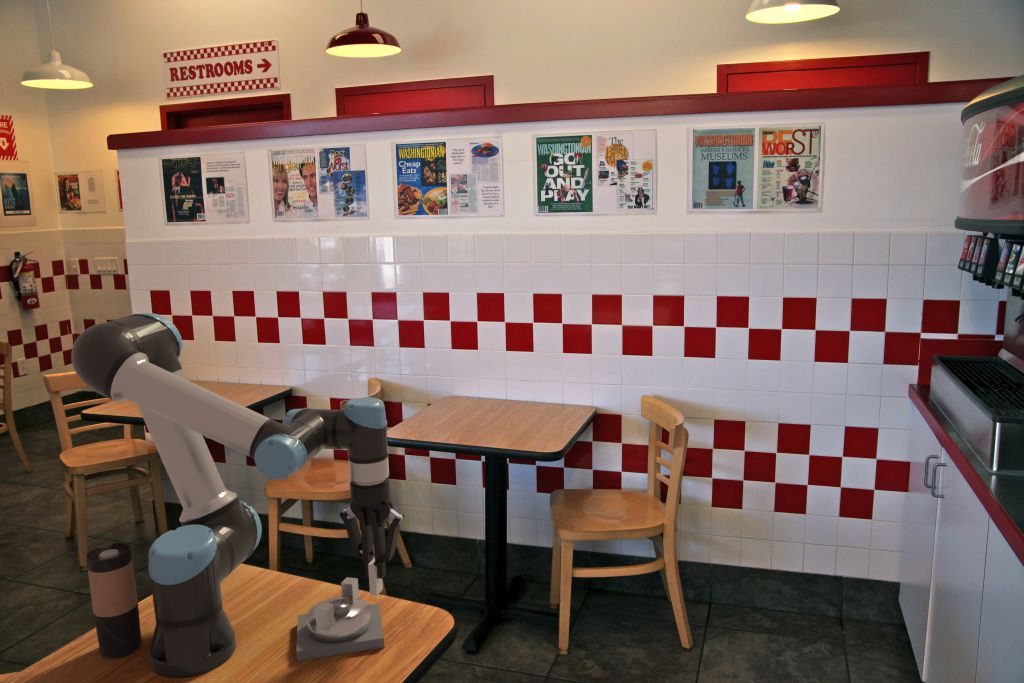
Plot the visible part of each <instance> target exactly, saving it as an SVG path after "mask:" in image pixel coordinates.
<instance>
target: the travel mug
mask: <svg viewBox="0 0 1024 683" xmlns="http://www.w3.org/2000/svg"><path fill="white" fill-rule="evenodd" d="M85 557H86V565H87V573H88V574H87V575H88V582H89V590H90V598H91V606H92V612H93V620H94V625H95V630H96V634H97V635H96V636H97V640H98V641H97V642H98V647H99V648H98V649H99V651H100V655H101V656H102V657H103V658H104V659H105V658H106V659H119V658H122V657H126V656H129V655H130V654H133V653H135V652H136V651H137V650H139V649H140V647H141V646H142V634H141V633H142V632H141V622H140V621H141V620H140V611H139V599H138V598H139V597H138V593H137V592H138V591H137V585H136V577H135V570H134V565H133V564H134V563H133V556H132V549H131V545H130V544H128V543H127V542H113V543H112V544H111V545H108V546H105V547H101V546H96V547H94V548H92V549H90V550H89V551H88V552H87V554H86V556H85ZM135 650H136V651H135Z"/></svg>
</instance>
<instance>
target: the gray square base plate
mask: <svg viewBox="0 0 1024 683" xmlns="http://www.w3.org/2000/svg"><path fill="white" fill-rule="evenodd" d="M369 606H370V617H371V623H370V626H369V628H368V629H367V630H366V631H365V632H364V633H362V634H361V635H359V636H357V637H355V638H353V639H350V640H346V641H342V642H322V641H318V640H316V639H314V638H312V637H311V636H310V635H309V633H308V627H307V613H305V614H304V613H303V614H297V623H296V624H297V625H296V626H297V627H296V629H297V630H296V648H295V649H296V662H301V661H306V660H308V661H309V660H315V659H320V658H321V659H322V658H326V657H332V656H339V655H344V654H345V655H346V654H351V653H359V652H364V651H369V650H370V651H371V650H376V649H382V648H385V636H384V631H383V625H382V624H383V623H382V617H381V611H380V605H379V603H373V604H369Z"/></svg>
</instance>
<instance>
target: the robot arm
mask: <svg viewBox="0 0 1024 683" xmlns="http://www.w3.org/2000/svg"><path fill="white" fill-rule="evenodd" d="M182 349H183V339H182V336H181V334H180V331H179V330H178V328H177V327H176V325H175V324H174V323H173V322H171V320H169V319H168V318H166V317H165V316H163V315H160V314H157V313H154V312H144V313H134V314H129V315H127V316H123V317H120V318H117V319H113V320H110V321H106V322H101V323H97V324H94V325H91V326H90V327H88V328H86V329H85V330H83V331H82V332H81V333H80V334H78V336H77V338H76V339H75V341H74V344H73V345H72V350H71V356H70V357H71V364H72V367H73V370H74V372H75V374H76V376H77V377H78V378H79V380H81V381H82V382H83V383H84V384H85V385H86V386H87V387H88V388H89V389H91V390H92V391H94V392H96V393H97V394H99V395H102V396H103V397H105V398H107V399H110V400H112V401H114V402H116V403H123V402H126V401H128V402H130V403H132V404H135V405H137V408H138V409H139V412H140V414H141V416H142V418H143V421H144V423H145V425H146V428H147V430H148V432H149V434H150V436H151V439H152V441H153V443H154V445H155V447H156V450H157V453H158V454H159V456H160V460H161V462H162V464H163V466H164V468H165V470H166V472H167V474H168V477H169V479H170V482H171V483H172V486H173V488H174V490H175V492H176V495H177V497H178V500H179V501H180V504H181V507H182V512H181V514H180V516H179V523H180V524H181V525H180V526H178V527H177V528H176V529H175V530H173V529H170V530H168V531H166V532H165V533H163V534H161V535H160V536H159V537H158V538H156V539H155V541H154V542H153V543H152V544H151V546H150V548H149V551H148V566H147V569H148V570H147V571H148V575H149V579H150V585H151V592H152V593H151V594H152V601H153V609H154V616H155V627H154V631H153V635H152V639H151V642H150V646H149V651H148V654H149V662H150V663H149V664H150V668H151V670H152V671H154V672H155V673H156V674H158V675H160V676H163V677H169V678H170V677H171V678H185V677H189V676H190V677H191V676H195V675H199V674H202V673H204V672H205V673H206V672H207V671H210V670H213V669H215V668H216V667H219V666H220V665H222V664H223V663H224V662H226V661H227V660H228V659H230V657H231V656H232V655H233V654H234V652H235V650H236V648H237V638H236V632H235V629H234V627H233V626H232V623H231V621H230V620H229V617H228V616H227V614H226V611H225V610H224V608H223V607H224V606H223V599H222V588H221V584H222V582H223V581H224V580H225V579H226V578H228V576H230V575H231V574H232V572H234V571H235V570H236V569H237V568H238V567H239V566H240V565H241V564H242V563H244V562H245V561H247V560H248V559H249V558H250V556H251V555H252V554H253V552H254V551H255V550H256V548H257V547H258V545H259V544H260V540H261V537H262V531H263V530H262V522H261V518H260V517H259V514H258V513H257V511H256V510H255V508H253V507H252V506H251V505H250V506H249V505H248V504H247V503H246V502H244V501H242V500H240V499H239V497H238V494H237V493H236V492H233V491H231V490H229V489H227V488H226V486H225V484H224V481H223V480H222V478H221V475H220V473H219V470H218V468H217V466H216V464H215V460H214V458H213V457H212V455H211V452H210V450H209V448H208V445H207V443H206V440H205V438H208V439H210V440H212V441H214V442H217V443H219V444H221V445H224V446H226V447H227V448H230V449H233V450H234V451H236V452H239V453H240V454H242V455H245V456H247V457H250V458H251V459H253V460H254V462H255V466H256V468H257V469H258V471H260V473H261V474H262V475H263V476H264V477H266V478H268V479H269V480H270V479H271V480H274V481H275V480H277V481H278V480H279V481H280V480H284V479H286V478H288V477H291V476H292V475H294V474H295V473H298V472H299V471H300V470H301V469H302V468H303V466H305V464H307V463H308V462H309V461H310V460H311V459H313V458H314V457H315V456H316V455H317V454H319V453H320V452H321V451H322V450H347V459H348V477H349V480H350V481H349V489H350V490H349V492H350V500H351V501H350V504H349V507H346V508H344V509H343V510H342V511H341V512H339V514H338V515H339V518H340V519H341V521H342V522H343V524H344V526H345V529H346V532H347V536H348V539H349V542H350V546H351V550H352V553H353V556H354V559H356V560H358V559H360V560H362V562H363V563H364V575H365V577H366V578H368V580H369V581H368V584H369V585H368V586H369V595H370V596H376V597H377V596H378V595H379V594H380V593H381V592H382V591H383V589H384V587H383V585H384V583H383V578H384V577H385V576H386V574H387V570H386V563H388V562H390V561H391V559H392V558H394V556H395V553H396V547H397V542H398V537H399V532H400V526H401V523H402V522H403V520H404V519H405V514H404V513H403V512H400V513H398V512H397V511H396V510H394V506H393V503H392V502H391V483H390V481H391V480H390V478H389V475H390V468H389V466H390V465H389V453H388V452H389V451H388V450H389V449H388V426H387V425H388V421H387V416H386V409H385V407H386V406H385V403H384V401H383V400H381V399H379V398H378V397H373V396H372V397H371V396H369V397H367V396H365V397H355V398H352V399H349V400H348V401H347V402H346V403H345V404H344V409H328V408H326V409H325V408H324V409H323V408H311V407H309V408H308V407H304V408H294V409H290V410H288V411H287V412H286V414H285V416H284V417H283V420H282V423H281V422H278V421H276V420H275V419H274V420H273V419H272V418H270V417H267V416H266V415H263V414H261V413H259V412H257V411H254V410H252V409H250V408H248V407H246V406H243V405H241V404H239V403H238V402H235V401H233V400H231V399H228V398H226V397H224V396H222V395H220V394H218V393H216V392H213V391H212V390H209V389H207V388H205V387H203V386H202V385H198V384H196V383H194V382H192V381H190V380H188V379H185V378H184V377H182V376H181V375H182V373H183V367H182V365H181V363H180V361H179V358H180V357H181V355H182ZM204 437H205V438H204ZM388 517H389V521H388V522H389V523H390V525H389V526H388V532H387V538H386V536H385V535H386V534H385V525H386V521H387V519H388ZM357 520H358V521H357ZM358 524H359V525H358Z"/></svg>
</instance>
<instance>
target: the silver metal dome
mask: <svg viewBox="0 0 1024 683" xmlns="http://www.w3.org/2000/svg"><path fill="white" fill-rule="evenodd" d="M340 585H341V586H340V587H341V596H335V597H330V598H327V599H324V600H321V601H319V602H318V603H316V604H314V605H313V606H312V607H311V608H310V609H309V610H308V612H307V613H306V614H307V627H308V633H309V635H310V636H311V637H312V638H314V639H316V640H318V641H322V642H342V641H346V640H350V639H353V638H355V637H357V636H359V635H361V634H362V633H364V632H365V631H366V630H367V629H368V628H369V626H370V623H371V617H370V606H369V605H370V604H369V602H367V601H366V600H365V599H362V598H360V594H359V592H360V591H359V578H356V577H348V576H346V578H344V580H342V581H341V583H340Z"/></svg>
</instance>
